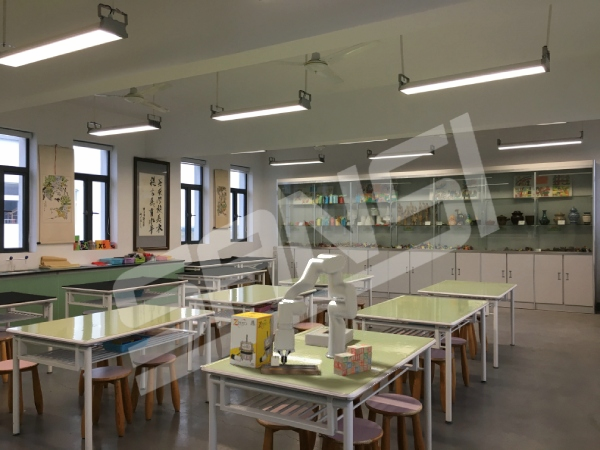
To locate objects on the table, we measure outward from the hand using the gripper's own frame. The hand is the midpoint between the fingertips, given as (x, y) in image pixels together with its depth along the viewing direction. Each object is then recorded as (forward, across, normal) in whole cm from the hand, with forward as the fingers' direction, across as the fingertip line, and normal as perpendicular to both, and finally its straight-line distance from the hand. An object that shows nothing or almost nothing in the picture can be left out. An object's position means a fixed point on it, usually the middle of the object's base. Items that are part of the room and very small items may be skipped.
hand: (283, 363), depth 238 cm
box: (+4, -31, -72) cm, 79 cm away
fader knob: (+1, +4, 0) cm, 5 cm away
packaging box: (+4, +17, -16) cm, 24 cm away
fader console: (+4, -3, 0) cm, 5 cm away
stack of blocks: (+4, -35, -2) cm, 35 cm away
